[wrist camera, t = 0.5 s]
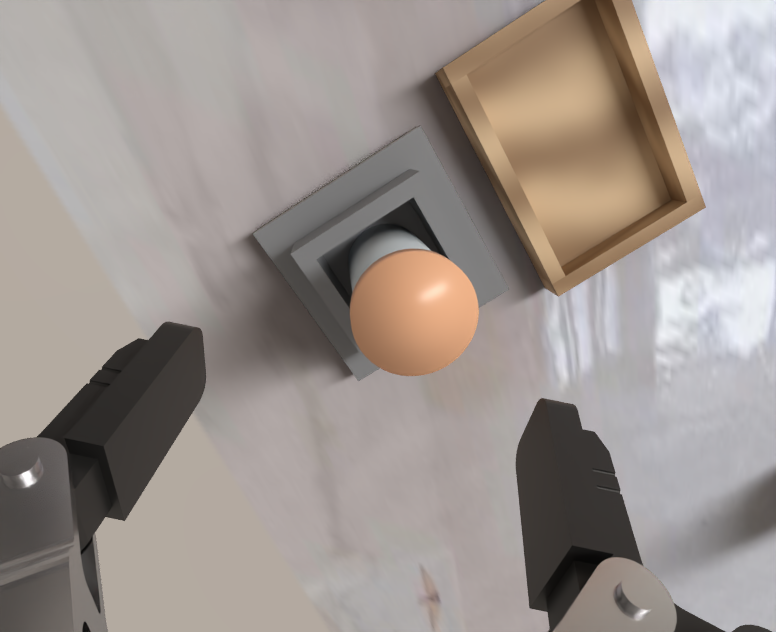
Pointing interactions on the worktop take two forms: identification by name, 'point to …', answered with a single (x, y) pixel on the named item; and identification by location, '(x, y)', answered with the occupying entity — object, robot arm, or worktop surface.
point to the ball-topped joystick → (408, 302)
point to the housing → (362, 211)
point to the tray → (574, 135)
